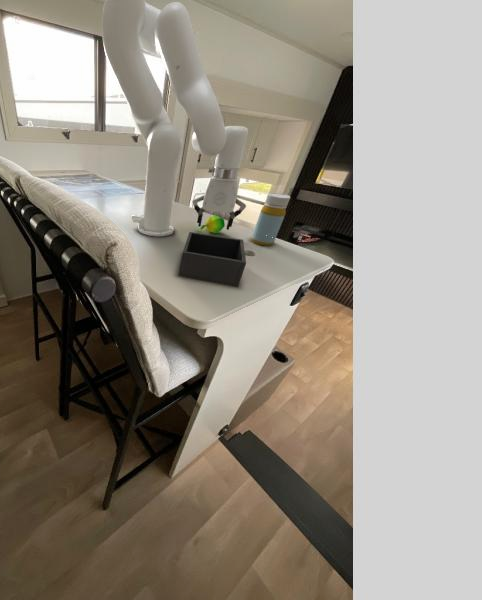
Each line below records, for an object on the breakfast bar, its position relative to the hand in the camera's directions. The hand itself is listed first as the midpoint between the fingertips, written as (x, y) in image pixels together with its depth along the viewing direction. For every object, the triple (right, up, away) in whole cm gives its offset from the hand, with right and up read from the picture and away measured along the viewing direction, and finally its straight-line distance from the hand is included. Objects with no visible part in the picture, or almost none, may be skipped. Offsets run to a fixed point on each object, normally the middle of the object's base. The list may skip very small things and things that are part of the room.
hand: (213, 226), depth 89 cm
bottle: (+15, -7, -4) cm, 17 cm away
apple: (-1, -2, +1) cm, 2 cm away
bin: (-8, -17, -21) cm, 28 cm away
